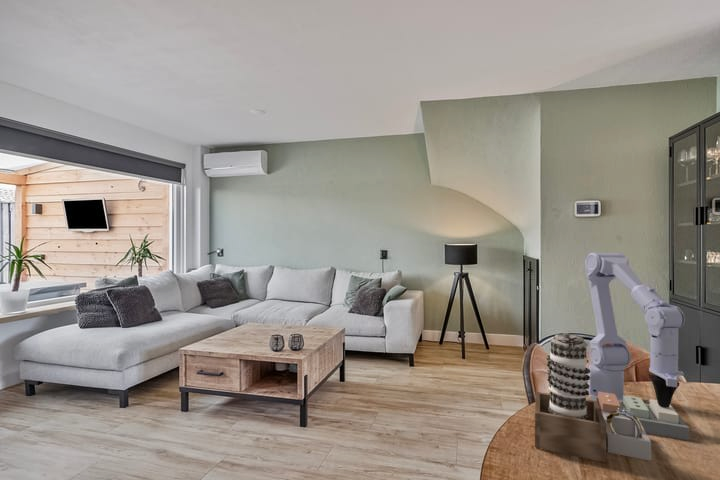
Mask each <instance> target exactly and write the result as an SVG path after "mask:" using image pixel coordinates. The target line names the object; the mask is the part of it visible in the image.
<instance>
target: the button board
mask: <svg viewBox="0 0 720 480" xmlns="http://www.w3.org/2000/svg"><path fill="white" fill-rule="evenodd" d="M590 400H593V401H598V396H592V395H591V397H590ZM617 400H618V399H617ZM618 402H619V404H620V406H621V409H623V408H624V406H623V400H618ZM644 404H645V405H646V407H647V408H648V410H649V419H645V418H639V417H636V418H637V419H638V420H639V421H640V423H641V425H642V427H643V428H644V430H645V432H646V434H650V435H656V436H657V435H658V436H662V437H666V438H667V437H668V438H673V439H679V440H683V441H690V427H689V426H688V424H686V422H685V421H684V420H683V418H682V417H681V416H680V415H679V413H678V412H677V411H676V413H677V414H678V415H679V423H678V424H675V423H669V422H663V421H657V420H656V418H655V417H654V415H653V414H652V412H651V410H650V409H649V406H650V403H645V402H644ZM672 408H673V409H674V410H675V408H674V407H672ZM601 412H602V411H601ZM602 414H608V415H610V414H611V413H608V412H602ZM619 416H620V417H626V416H621V415H619ZM626 418H628V417H626Z"/></svg>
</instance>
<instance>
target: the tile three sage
mask: <svg viewBox="0 0 720 480" xmlns="http://www.w3.org/2000/svg"><path fill="white" fill-rule="evenodd" d="M644 403H645V402H644V401H643V399H642V397H637V396H631V395H625V394H624V395H623V406H624V408H625V410H627V409H629V410H628V411H631V414H632V413H633V416H635V417H639V418H645V419H649V410H648V408H647V407H646V405H645V404H646V403H645V404H644Z"/></svg>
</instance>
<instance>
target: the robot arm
mask: <svg viewBox="0 0 720 480" xmlns="http://www.w3.org/2000/svg"><path fill="white" fill-rule="evenodd" d="M584 267H585V272H586V273H585V274H586V279H587V280H588V284H589V291H590V297H591V305H592V311H593V315H594V321H595V326H596V334H597V335H596V336H595V337H593V338H592V339H591V340H590V341H589V347H590V349H589V358H590V361H591V362H592V364H589V365H588V367H587V368H588V369H589V370H590V373H588V374H587V375H588V376H590V380H587V382H586V383H587V384H588V385H589V388H588V389H587V391H588V392H589V396H590V398H591V395H592V396H598V392H605V393H611V394H615V396H616V398H617V399H618V400H623V395H625V393H624V391H625V390H624V389H625V385H624V384H625V383H624V381H625V378H624V377H625V370H627V366H629V365H630V364H631V362H632V354H631V352H630V350H629V347H628V345H627V341H626V340H625V339H624V338H622V337H621V336H620V335H619V334H618V330H617V324H616V320H615V312H614V307H613V302H612V296H611V290H610V283H611V282H612V281H613V280H615V279H618V280H619V281H620V283H622V284H623V285H624V286H625V287H626V288H627V289H628V290H629V291H630V292H631V293H630V298H631V299H632V300H633V301H634V303H635V304H636V306H638V307H639V309H641V311H642V312H643V313H644V317H643V318H644V321H645V323H646V325H647V332H648V334H649V335H650V341H649V343H650V344H649V345H650V350H649V353H650V354H649V357H650V358H649V362H650V363H649V368H648V371H649V372H650V373H652V374H648V376H649V377H648V378H649V380H650V381H651V384H652V386H653V389H654V393H655V397H656V399H655V400H657V402H658V405H659V406H663V407H669V406H670V405H671V402H672V400H673V396H674V394H675V392H676V390H677V389H678V388H679V387H680V382H679V381H678V378H679V377H680V376H681V377H683V376H685V373H684V372H683V371H682V370H679V329H681V328H682V327H683V326H684V325H685V322H686V318H685V314H684V312H683V310H682V309H681V308H680V307H679V306H676V305H672V304H671V303H668V302H667V301H666V300H665V299H664V298H663V297H662V296H661V295H660V294H659V293H658V292H657V291H656V288H655V287H654V286H651V285H647V284H643V282H642V281H641V280H640V279H639V277H638V276H637V275H636V273H635V272H634V271H633V270H632V268H631V267H630V263H629V259H628V258H627V257H626V255H624V254H623V253H621V252H611V253H610V252H590V253H589V254H588V255H587V257H586V259H585V260H584ZM609 344H610V345H609Z"/></svg>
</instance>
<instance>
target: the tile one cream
mask: <svg viewBox="0 0 720 480" xmlns="http://www.w3.org/2000/svg"><path fill="white" fill-rule="evenodd" d="M649 404H650V406H649V409H650V410H651V412H652V414H653V415H654V417H655V418H656V420H657V421H663V422H669V423H675V424H678V423H679V416H680V414H679V413H678V412H677V410H675V408H674V407H673V406H672V405H671V404H670V406H669V407H663V406H659V405H658V402H657V399H651V398H650V399H649ZM673 408H674V409H673ZM676 412H677V413H678V414H677V413H676Z"/></svg>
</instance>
